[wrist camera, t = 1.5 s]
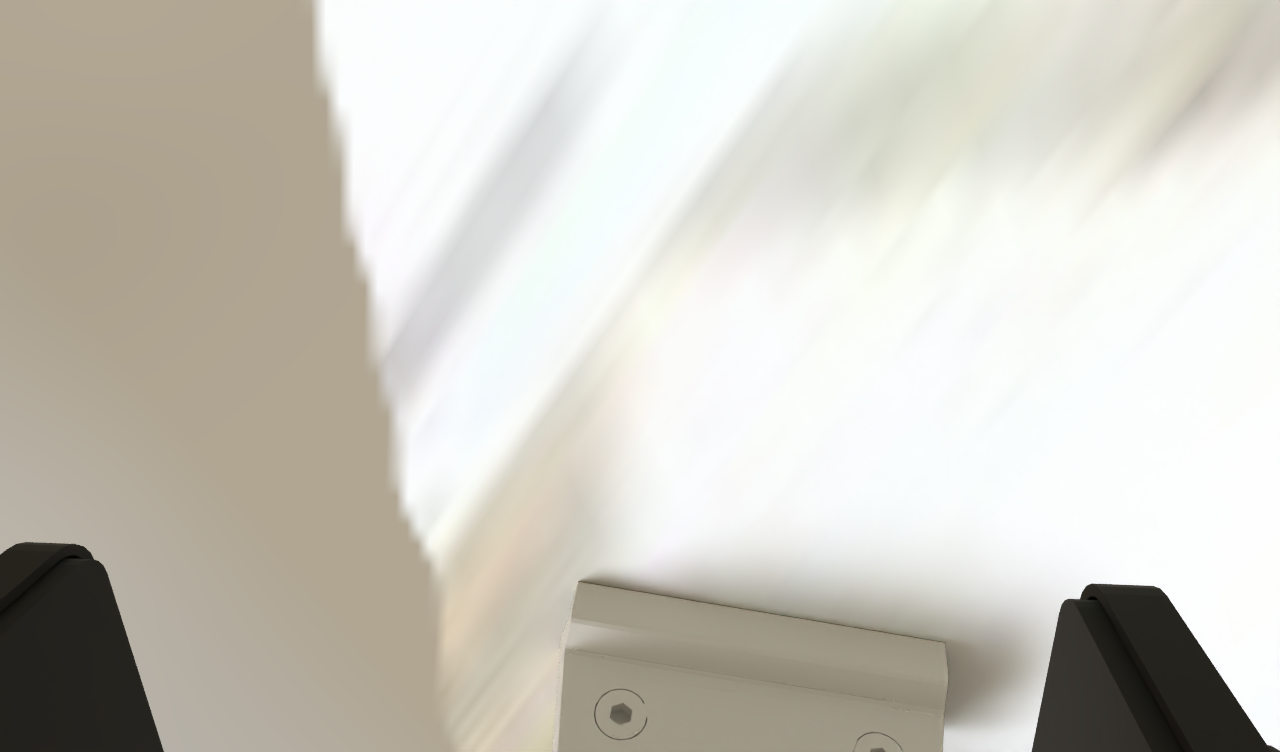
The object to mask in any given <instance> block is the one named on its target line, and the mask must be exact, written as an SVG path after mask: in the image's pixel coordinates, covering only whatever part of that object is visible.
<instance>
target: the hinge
mask: <svg viewBox="0 0 1280 752" xmlns="http://www.w3.org/2000/svg"><path fill="white" fill-rule="evenodd" d="M947 687H948V666H947V657H946V649H945V643H943V642H937V641H931V640H925V639H919V638H913V637H907V636H901V635H895V634H889V633H883V632H877V631H871V630H865V629H859V628H853V627H847V626H841V625H835V624H829V623H823V622H817V621H811V620H805V619H799V618H793V617H787V616H781V615H775V614H769V613H763V612H757V611H751V610H745V609H739V608H733V607H727V606H721V605H715V604H709V603H703V602H697V601H691V600H685V599H679V598H673V597H667V596H661V595H655V594H649V593H643V592H637V591H631V590H625V589H619V588H613V587H607V586H601V585H595V584H589V583H583V582H578V584H577V587H576V590H575V594H574V599H573V603H572V608H571V612H570V617H569V620H568V622H567V624H566V627H565V629H564V631H563V634H562V636H561V642H560V656H559V669H558V683H557V696H556V709H555V723H554V736H553V749H552V752H943V732H944V712H945V703H946V695H947Z"/></svg>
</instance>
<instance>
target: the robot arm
mask: <svg viewBox="0 0 1280 752" xmlns="http://www.w3.org/2000/svg"><path fill="white" fill-rule="evenodd" d="M0 752H164V751H163V748H162V745H161V741H160V738H159V735H158V732H157V729H156V726H155V723H154V720H153V716H152V714H151V710H150V707H149V704H148V700H147V697H146V694H145V691H144V688H143V685H142V682H141V679H140V675H139V672H138V669H137V666H136V663H135V660H134V656H133V653H132V650H131V647H130V644H129V641H128V637H127V635H126V631H125V628H124V625H123V622H122V619H121V615H120V612H119V609H118V606H117V603H116V600H115V596H114V593H113V590H112V587H111V584H110V581H109V578H108V574H107V572H106V570H105V568H104V566H103V565H102V564H101V563H100V562H99V561H96V560H94V559H93V557H92V555H91V553H90V552H89V551H88V550H87V549H86V548H85V547H83V546H80V545H76V544H57V543H33V542H25V543H19V544H16V545H14V546H12V547H10V548H9V549H7V550H6V551H4V552H3V553H2V554H1V555H0ZM1032 752H1280V751H1279V750H1277V749H1276V748H1274V747H1272V746H1269V745H1267V744H1266V743H1265V741H1264V740H1263V738H1262V737H1261V735H1260V734H1259V732H1258V731H1257V729H1256V728H1255V726H1254V725H1253V724H1252V722H1251V721H1250V719H1249V718H1248V716H1247V715H1246V713H1245V712H1244V710H1243V709H1242V707H1241V706H1240V704H1239V703H1238V701H1237V700H1236V698H1235V697H1234V695H1233V694H1232V692H1231V691H1230V689H1229V688H1228V686H1227V685H1226V683H1225V682H1224V680H1223V679H1222V677H1221V676H1220V674H1219V673H1218V671H1217V670H1216V668H1215V667H1214V665H1213V664H1212V662H1211V661H1210V659H1209V658H1208V656H1207V655H1206V653H1205V652H1204V650H1203V649H1202V647H1201V646H1200V644H1199V643H1198V641H1197V640H1196V639H1195V637H1194V636H1193V634H1192V633H1191V631H1190V630H1189V628H1188V627H1187V625H1186V624H1185V622H1184V621H1183V619H1182V618H1181V616H1180V615H1179V613H1178V612H1177V610H1176V609H1175V607H1174V606H1173V604H1172V603H1171V601H1170V600H1169V598H1168V597H1167V596H1166V594H1165V593H1164V592H1163V591H1162V590H1161V589H1160V588H1157V587H1155V586H1138V585H1112V584H1090V585H1087V586H1086V587H1085V589H1084V590H1083V592H1082V594H1081V598H1080V599H1067V600H1065V601H1064V602H1063V604H1062V606H1061V609H1060V612H1059V617H1058V622H1057V627H1056V632H1055V637H1054V642H1053V647H1052V652H1051V658H1050V663H1049V668H1048V673H1047V678H1046V683H1045V688H1044V693H1043V698H1042V703H1041V708H1040V713H1039V718H1038V723H1037V728H1036V733H1035V738H1034V743H1033V748H1032Z"/></svg>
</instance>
